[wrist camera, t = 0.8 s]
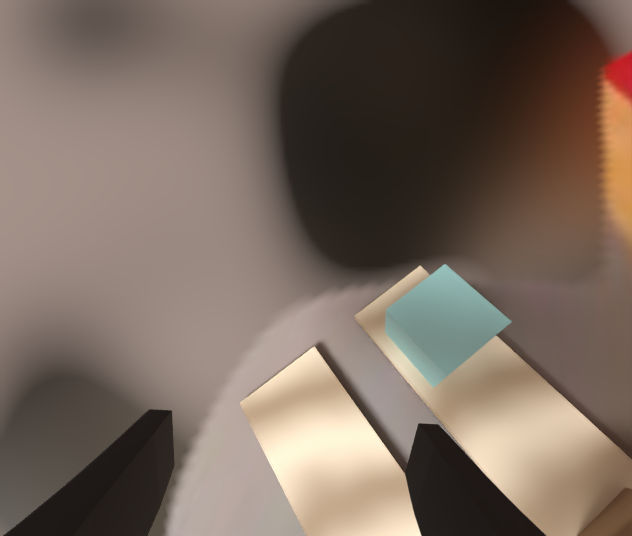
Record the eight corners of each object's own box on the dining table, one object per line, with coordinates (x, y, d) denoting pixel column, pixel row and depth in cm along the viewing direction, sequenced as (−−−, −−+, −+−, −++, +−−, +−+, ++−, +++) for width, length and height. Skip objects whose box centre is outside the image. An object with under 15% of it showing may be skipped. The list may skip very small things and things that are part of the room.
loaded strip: (684, 516, 17) (799, 547, 12) (598, 610, 16) (687, 683, 11) (419, 270, 26) (427, 235, 22) (355, 318, 25) (349, 293, 21)
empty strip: (544, 670, 15) (614, 771, 11) (438, 784, 14) (466, 951, 10) (316, 348, 25) (301, 329, 20) (243, 403, 24) (210, 397, 19)
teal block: (486, 343, 22) (511, 321, 18) (433, 388, 21) (446, 376, 17) (433, 293, 24) (445, 263, 20) (384, 332, 24) (385, 309, 19)
